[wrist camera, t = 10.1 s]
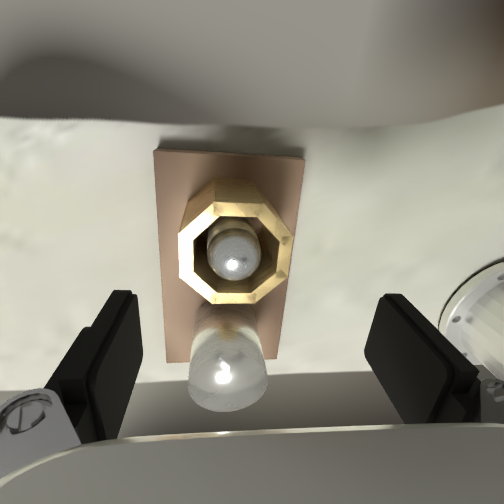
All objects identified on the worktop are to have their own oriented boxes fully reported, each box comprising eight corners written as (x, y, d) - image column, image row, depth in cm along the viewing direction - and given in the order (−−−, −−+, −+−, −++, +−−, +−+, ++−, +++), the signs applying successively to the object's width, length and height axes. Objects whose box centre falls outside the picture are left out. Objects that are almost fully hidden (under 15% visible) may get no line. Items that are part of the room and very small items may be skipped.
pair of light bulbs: (266, 201, 21) (289, 240, 15) (252, 344, 27) (265, 415, 20) (192, 198, 20) (183, 237, 14) (193, 345, 26) (188, 420, 20)
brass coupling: (275, 180, 20) (298, 204, 15) (267, 258, 23) (284, 303, 18) (186, 175, 20) (176, 199, 14) (187, 257, 22) (180, 304, 17)
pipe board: (299, 157, 22) (305, 160, 20) (273, 347, 29) (276, 359, 28) (157, 148, 20) (153, 150, 19) (168, 350, 28) (166, 363, 26)
